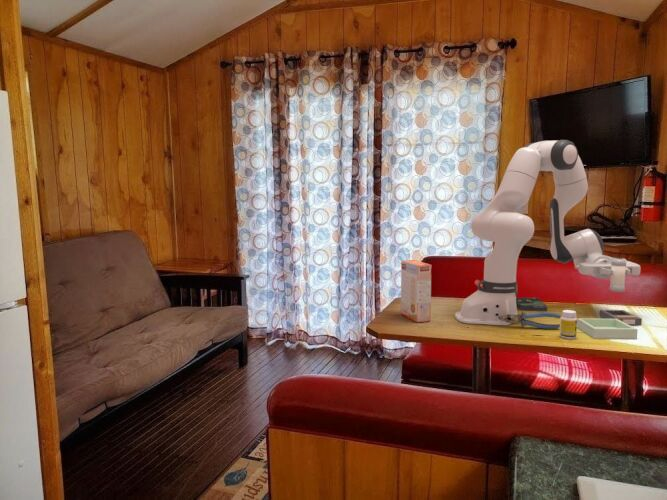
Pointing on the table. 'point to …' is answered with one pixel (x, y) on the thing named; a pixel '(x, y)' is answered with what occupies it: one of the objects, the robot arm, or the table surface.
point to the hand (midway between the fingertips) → (619, 272)
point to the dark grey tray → (621, 316)
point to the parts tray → (606, 328)
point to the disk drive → (530, 304)
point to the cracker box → (416, 290)
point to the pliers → (519, 318)
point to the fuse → (618, 275)
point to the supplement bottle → (568, 324)
